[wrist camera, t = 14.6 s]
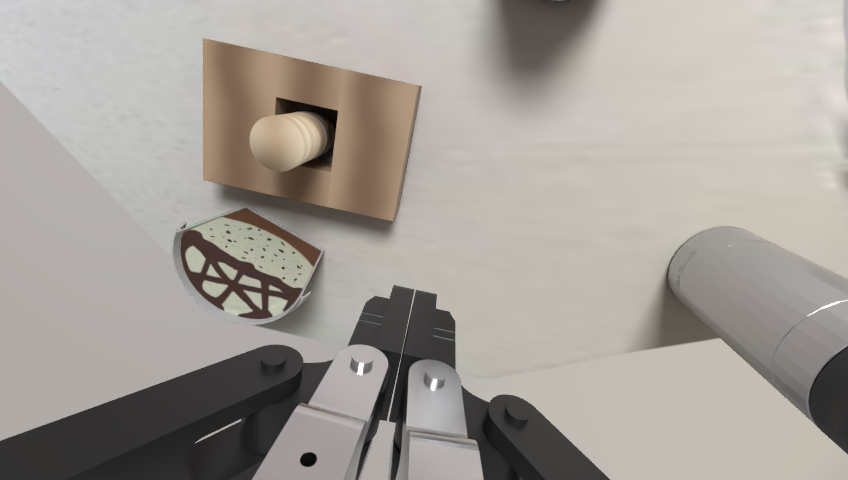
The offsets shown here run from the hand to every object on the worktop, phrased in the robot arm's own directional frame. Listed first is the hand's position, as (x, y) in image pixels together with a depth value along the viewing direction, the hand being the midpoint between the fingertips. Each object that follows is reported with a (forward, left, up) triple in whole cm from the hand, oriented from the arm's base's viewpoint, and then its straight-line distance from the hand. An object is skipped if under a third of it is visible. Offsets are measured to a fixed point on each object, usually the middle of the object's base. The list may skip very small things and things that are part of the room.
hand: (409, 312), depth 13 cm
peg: (+12, -1, -27) cm, 29 cm away
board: (+12, -1, -27) cm, 29 cm away
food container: (+16, +13, -27) cm, 34 cm away
